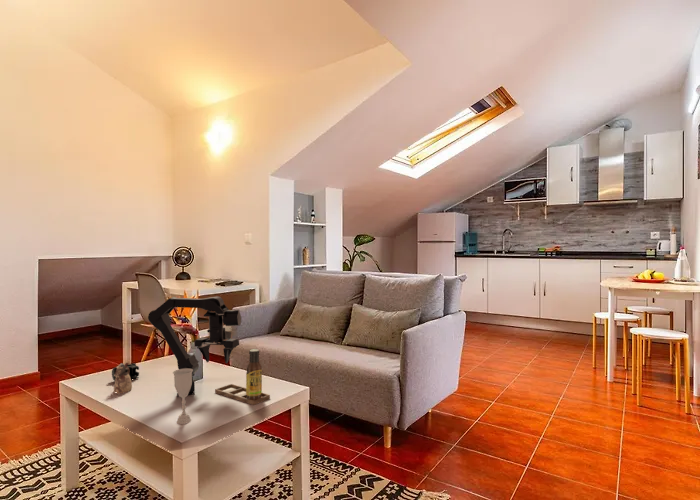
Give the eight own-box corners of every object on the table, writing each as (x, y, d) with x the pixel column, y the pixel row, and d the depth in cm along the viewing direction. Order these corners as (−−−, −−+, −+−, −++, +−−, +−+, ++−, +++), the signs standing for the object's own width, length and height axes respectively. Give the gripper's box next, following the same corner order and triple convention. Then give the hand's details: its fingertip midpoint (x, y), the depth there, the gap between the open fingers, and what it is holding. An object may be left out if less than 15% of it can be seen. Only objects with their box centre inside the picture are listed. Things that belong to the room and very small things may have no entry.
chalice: (177, 417, 156) (176, 368, 156) (196, 416, 157) (195, 368, 156) (170, 425, 149) (169, 374, 149) (190, 424, 149) (189, 373, 149)
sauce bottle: (250, 402, 168) (249, 352, 168) (243, 398, 173) (242, 350, 173) (264, 399, 172) (264, 350, 172) (258, 394, 177) (257, 347, 177)
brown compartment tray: (215, 392, 182) (215, 389, 182) (231, 387, 189) (231, 383, 189) (253, 405, 167) (253, 401, 167) (269, 398, 174) (269, 394, 174)
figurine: (111, 390, 187) (110, 363, 186) (128, 386, 192) (127, 360, 192) (116, 394, 182) (116, 366, 182) (134, 390, 187) (133, 363, 187)
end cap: (133, 375, 208) (132, 362, 208) (140, 378, 204) (139, 364, 204) (111, 381, 201) (111, 366, 200) (118, 384, 196) (118, 369, 196)
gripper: (245, 323, 186) (246, 358, 186) (208, 322, 191) (209, 356, 192) (231, 328, 176) (232, 365, 176) (192, 327, 181) (194, 363, 181)
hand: (217, 362), depth 181 cm, fingers open, 9 cm apart
